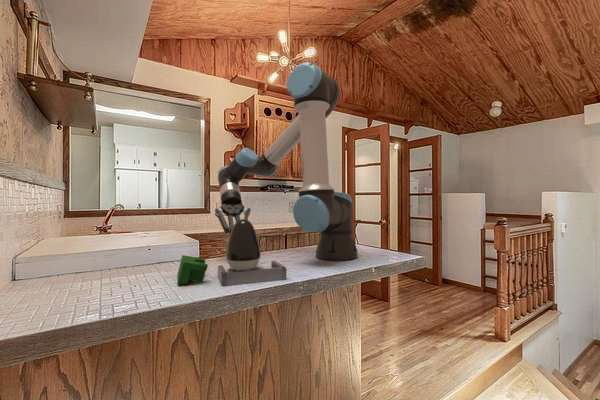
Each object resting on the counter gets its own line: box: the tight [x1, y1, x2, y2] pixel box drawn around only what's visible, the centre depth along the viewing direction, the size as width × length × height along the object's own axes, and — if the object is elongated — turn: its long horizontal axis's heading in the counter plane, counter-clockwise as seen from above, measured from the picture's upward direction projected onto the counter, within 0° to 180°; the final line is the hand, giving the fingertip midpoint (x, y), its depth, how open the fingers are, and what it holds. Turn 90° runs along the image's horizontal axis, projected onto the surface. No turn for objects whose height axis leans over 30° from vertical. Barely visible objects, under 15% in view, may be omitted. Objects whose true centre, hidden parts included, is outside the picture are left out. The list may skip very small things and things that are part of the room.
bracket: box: [217, 260, 287, 287], centre depth 80 cm, size 16×10×3 cm, turn 111°
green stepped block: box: [176, 255, 209, 286], centre depth 79 cm, size 12×6×9 cm, turn 17°
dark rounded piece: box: [225, 218, 262, 271], centre depth 91 cm, size 10×10×15 cm
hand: (238, 247), depth 98 cm, fingers closed
